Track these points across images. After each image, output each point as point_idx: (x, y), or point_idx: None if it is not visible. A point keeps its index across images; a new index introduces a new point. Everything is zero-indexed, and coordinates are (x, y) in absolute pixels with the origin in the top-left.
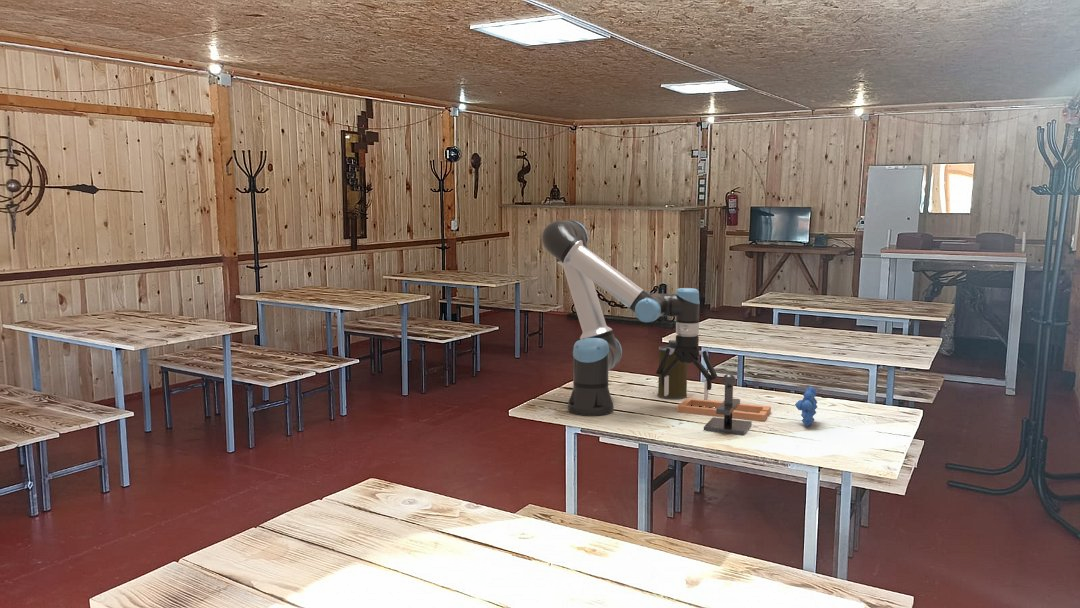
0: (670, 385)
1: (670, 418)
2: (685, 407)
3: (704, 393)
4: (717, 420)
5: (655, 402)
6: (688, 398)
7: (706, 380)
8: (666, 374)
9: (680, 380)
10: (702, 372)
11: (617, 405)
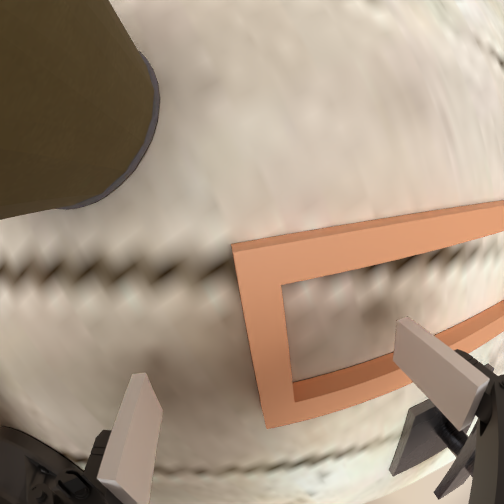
0: (47, 204)
1: (276, 468)
2: (305, 417)
3: (414, 380)
4: (425, 428)
5: (76, 316)
6: (247, 259)
7: (471, 417)
8: (100, 493)
9: (87, 134)
10: (480, 475)
11: (32, 416)
